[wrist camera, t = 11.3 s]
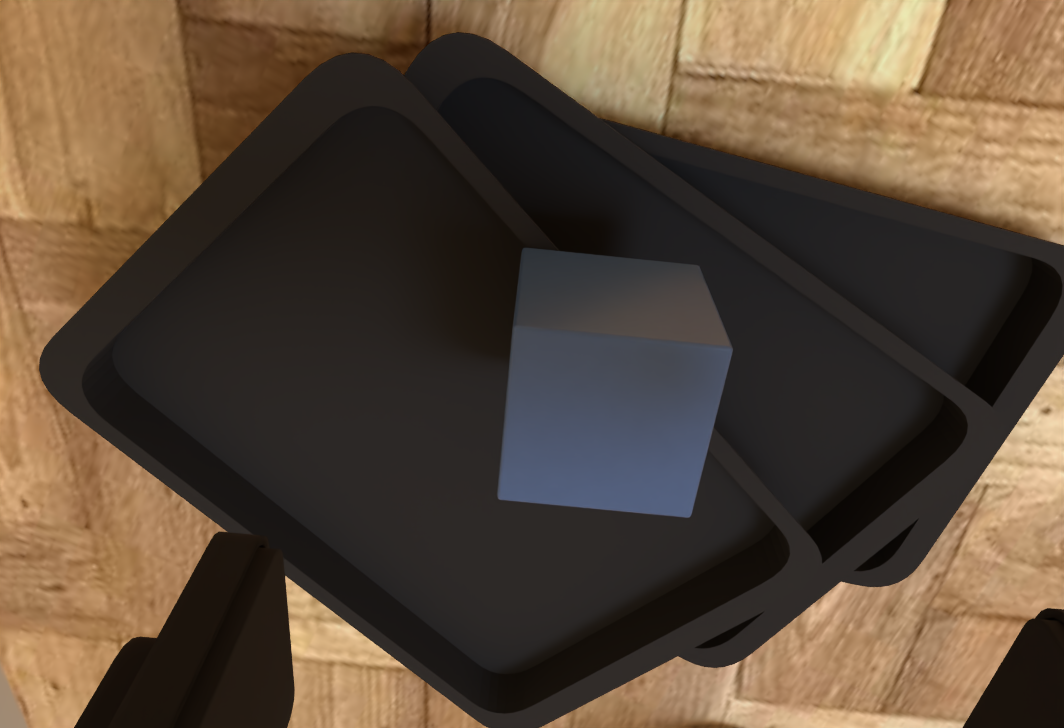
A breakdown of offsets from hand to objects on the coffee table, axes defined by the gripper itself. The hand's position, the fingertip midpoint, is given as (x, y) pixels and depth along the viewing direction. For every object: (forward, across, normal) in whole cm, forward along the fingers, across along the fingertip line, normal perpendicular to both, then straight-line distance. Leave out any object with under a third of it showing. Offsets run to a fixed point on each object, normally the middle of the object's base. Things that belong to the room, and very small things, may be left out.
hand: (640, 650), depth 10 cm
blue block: (+11, 0, +1) cm, 11 cm away
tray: (+16, 0, +6) cm, 18 cm away
